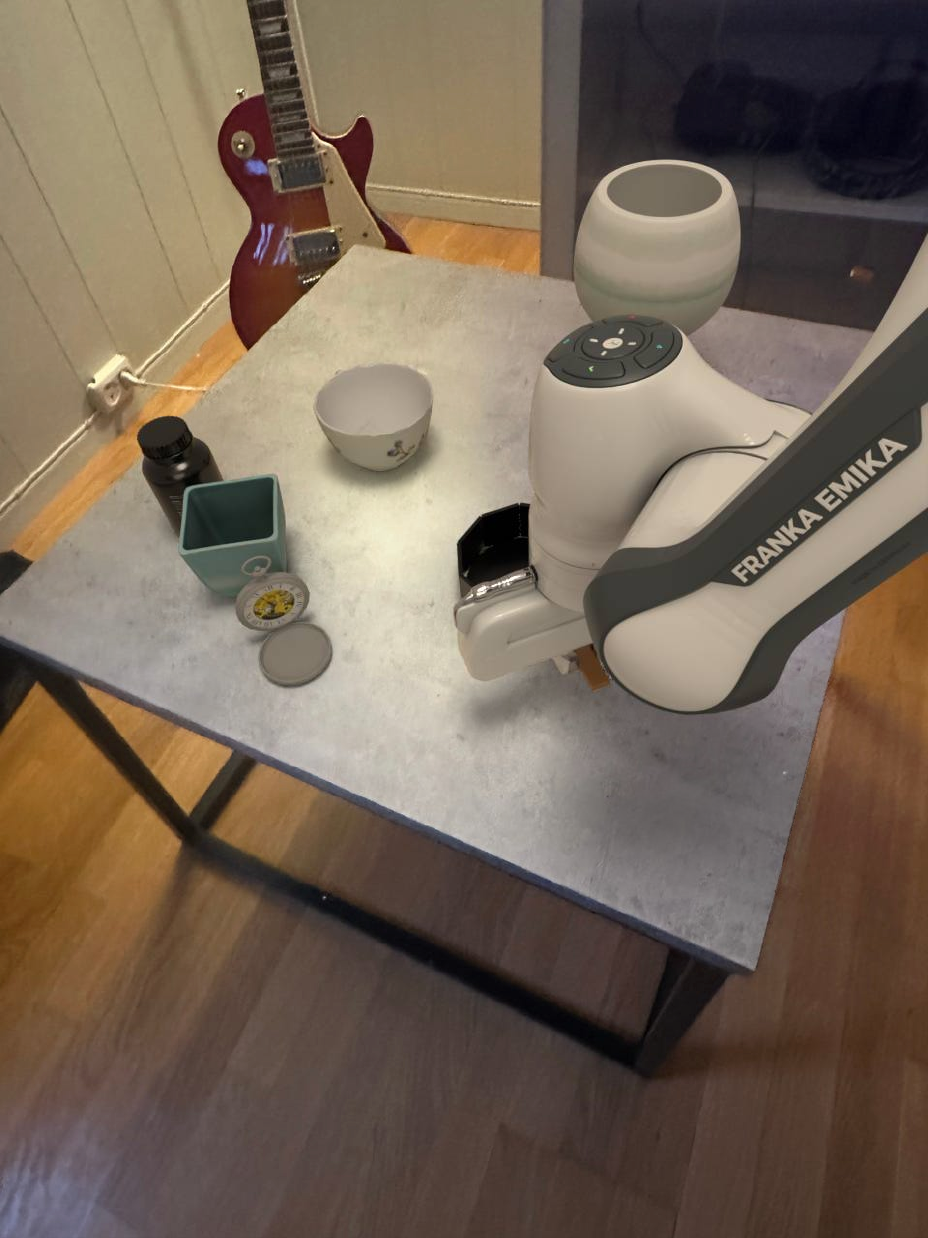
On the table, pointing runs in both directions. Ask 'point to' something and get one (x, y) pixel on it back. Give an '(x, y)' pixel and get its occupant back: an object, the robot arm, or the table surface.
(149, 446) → the supplement bottle
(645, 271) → the planter
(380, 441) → the white floral bowl
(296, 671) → the pocket watch
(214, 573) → the flower pot
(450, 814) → the table surface
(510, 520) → the saucepan
